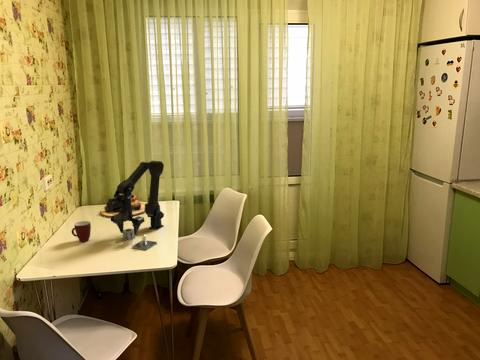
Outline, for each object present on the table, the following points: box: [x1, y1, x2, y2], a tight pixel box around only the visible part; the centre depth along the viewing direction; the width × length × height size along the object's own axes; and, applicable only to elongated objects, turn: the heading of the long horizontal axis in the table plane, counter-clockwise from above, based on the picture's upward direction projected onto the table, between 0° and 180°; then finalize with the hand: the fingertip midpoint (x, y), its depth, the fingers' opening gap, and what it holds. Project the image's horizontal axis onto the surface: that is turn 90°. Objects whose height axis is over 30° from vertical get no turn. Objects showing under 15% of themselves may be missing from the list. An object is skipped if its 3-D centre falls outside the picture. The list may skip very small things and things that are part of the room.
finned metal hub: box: [131, 233, 158, 251], centre depth 204 cm, size 9×9×6 cm
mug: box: [71, 220, 92, 243], centre depth 213 cm, size 10×8×10 cm
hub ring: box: [122, 228, 136, 241], centre depth 216 cm, size 6×6×4 cm
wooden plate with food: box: [100, 194, 146, 219], centre depth 266 cm, size 32×32×8 cm
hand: (128, 233), depth 216 cm, fingers open, 9 cm apart
